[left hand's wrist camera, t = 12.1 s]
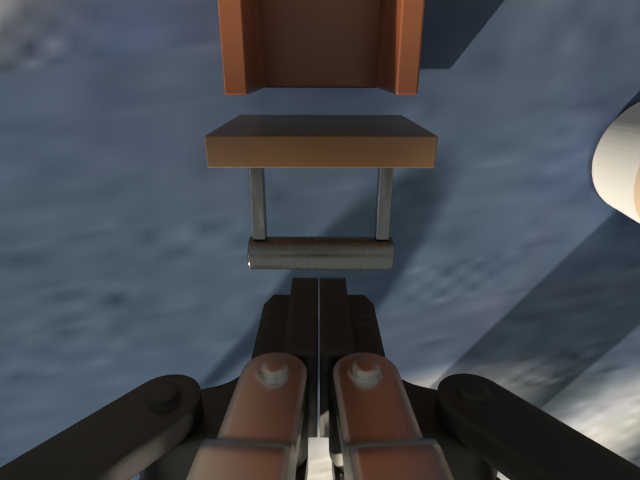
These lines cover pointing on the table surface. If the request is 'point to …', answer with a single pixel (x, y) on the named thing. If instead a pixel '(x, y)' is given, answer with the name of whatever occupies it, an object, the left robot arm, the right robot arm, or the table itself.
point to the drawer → (321, 130)
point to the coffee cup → (620, 164)
